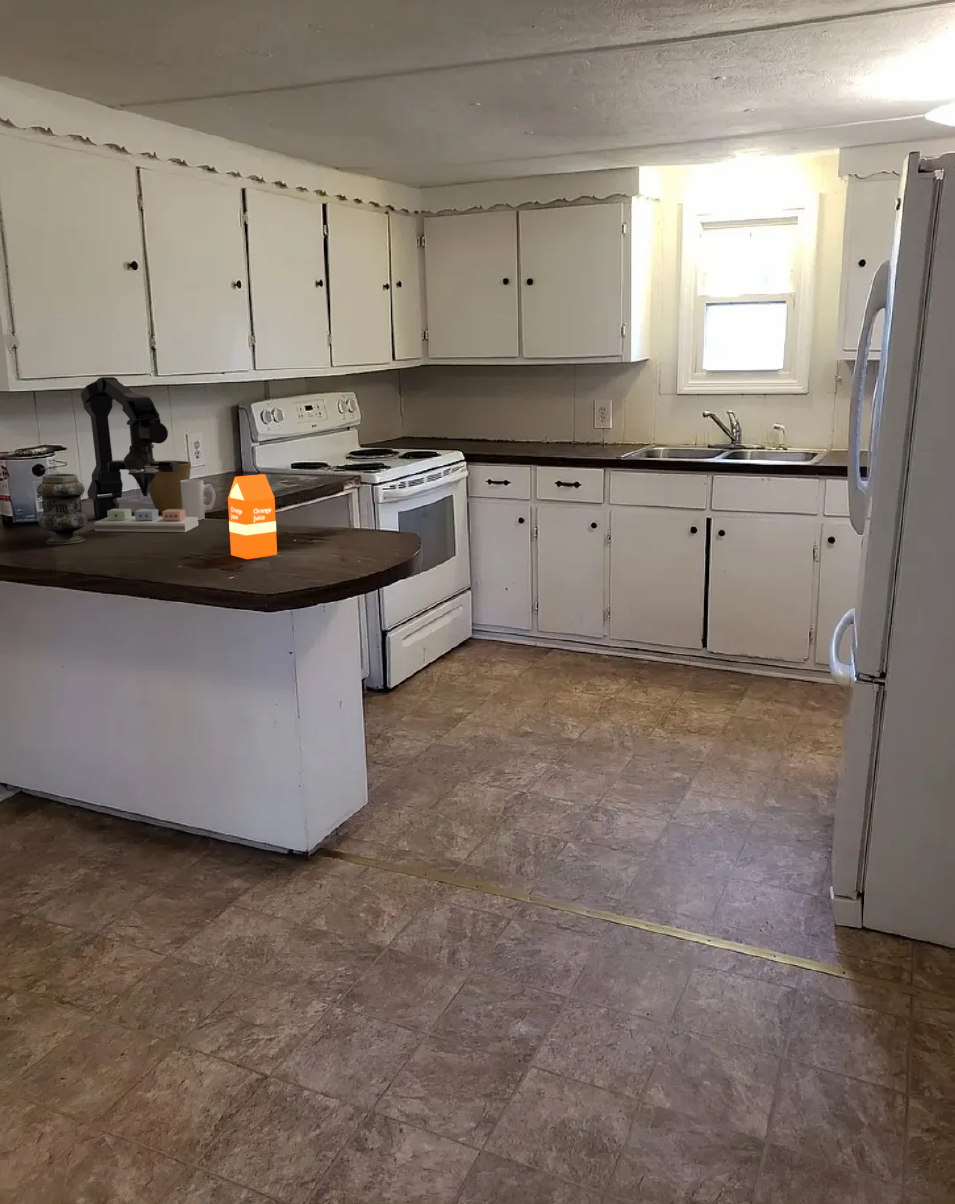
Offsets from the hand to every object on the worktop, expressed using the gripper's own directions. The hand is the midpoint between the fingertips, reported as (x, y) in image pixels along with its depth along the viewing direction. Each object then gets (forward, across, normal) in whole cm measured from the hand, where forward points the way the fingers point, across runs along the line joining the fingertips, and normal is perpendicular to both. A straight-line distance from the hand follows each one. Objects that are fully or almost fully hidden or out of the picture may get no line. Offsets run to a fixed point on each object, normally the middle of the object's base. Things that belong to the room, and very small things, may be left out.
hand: (145, 496), depth 283 cm
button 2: (+7, 0, 0) cm, 7 cm away
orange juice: (+10, +41, -38) cm, 57 cm away
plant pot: (+10, -4, +31) cm, 33 cm away
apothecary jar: (+10, -14, -23) cm, 29 cm away
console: (+9, 0, 0) cm, 9 cm away
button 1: (+7, -8, 0) cm, 10 cm away
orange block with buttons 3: (+7, +8, 0) cm, 10 cm away
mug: (+10, +10, +17) cm, 22 cm away
